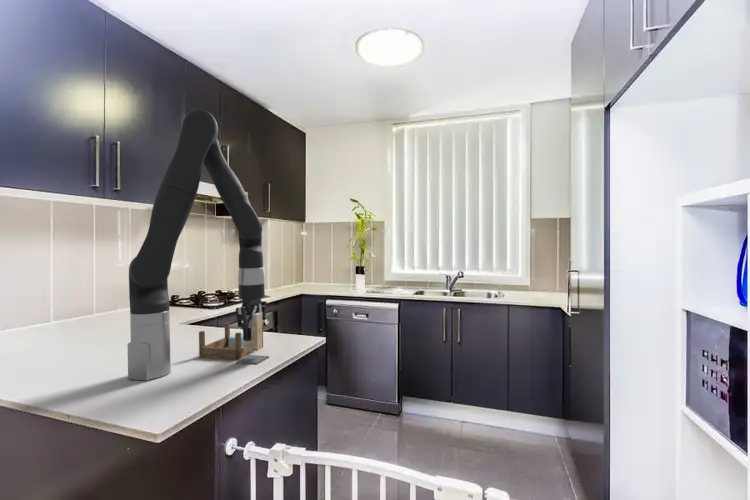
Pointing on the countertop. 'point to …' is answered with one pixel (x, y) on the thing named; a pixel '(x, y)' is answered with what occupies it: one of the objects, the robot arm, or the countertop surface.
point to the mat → (252, 359)
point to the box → (255, 334)
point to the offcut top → (232, 341)
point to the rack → (218, 349)
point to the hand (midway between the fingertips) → (252, 337)
